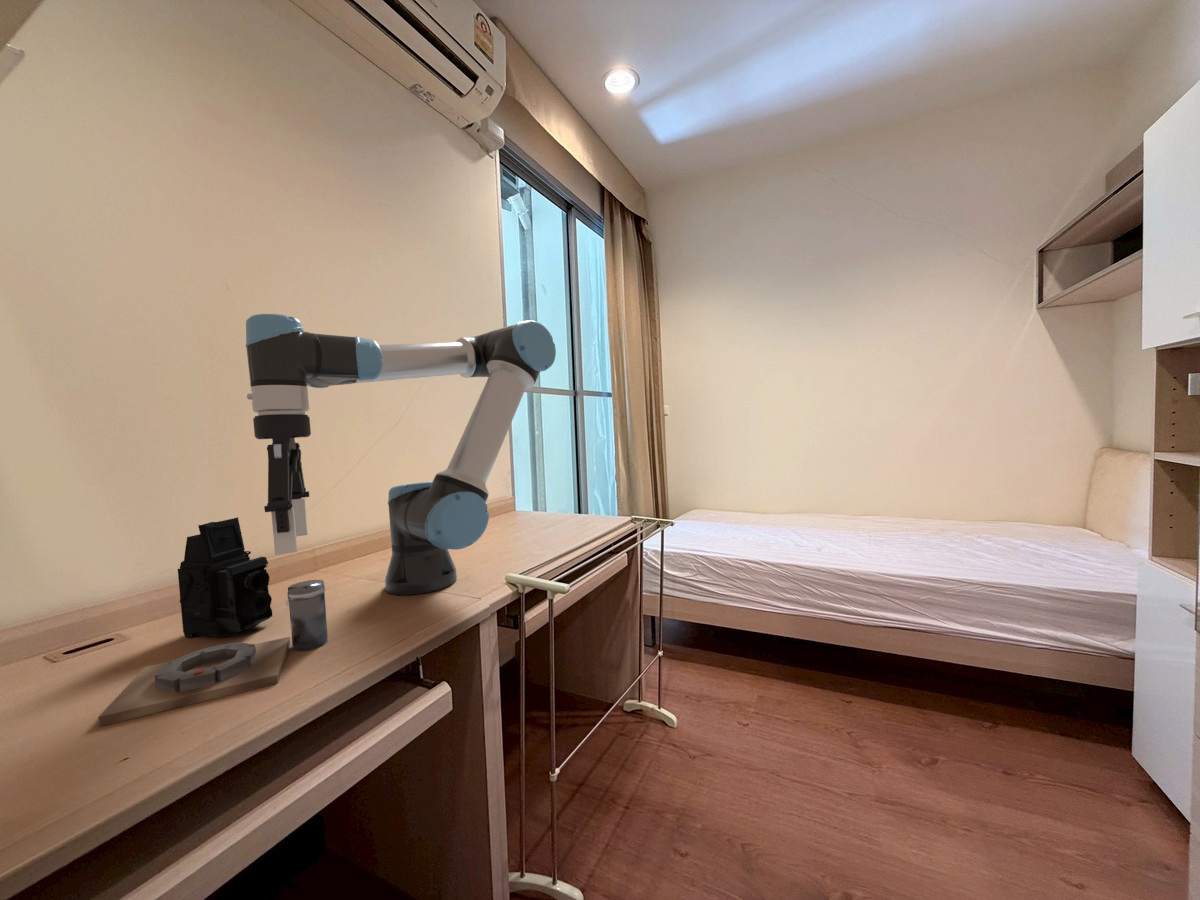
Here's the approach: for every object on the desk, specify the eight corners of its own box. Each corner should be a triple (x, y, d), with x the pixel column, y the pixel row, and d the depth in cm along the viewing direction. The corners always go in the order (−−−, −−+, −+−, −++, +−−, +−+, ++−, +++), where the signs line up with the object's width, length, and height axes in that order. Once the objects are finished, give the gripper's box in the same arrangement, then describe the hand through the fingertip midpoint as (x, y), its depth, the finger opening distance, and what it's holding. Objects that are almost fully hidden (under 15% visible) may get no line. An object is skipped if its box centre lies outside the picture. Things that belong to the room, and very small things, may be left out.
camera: (237, 644, 78) (228, 526, 77) (173, 640, 80) (163, 526, 79) (289, 620, 87) (280, 514, 86) (230, 617, 90) (222, 515, 89)
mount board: (290, 643, 77) (289, 625, 77) (277, 683, 65) (275, 661, 64) (145, 674, 69) (143, 654, 68) (99, 726, 56) (96, 701, 56)
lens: (329, 634, 80) (325, 577, 80) (327, 646, 75) (323, 586, 75) (291, 642, 78) (287, 583, 77) (287, 655, 73) (282, 593, 72)
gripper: (268, 417, 84) (278, 532, 85) (232, 410, 62) (246, 566, 63) (316, 416, 87) (325, 527, 88) (298, 409, 65) (311, 557, 66)
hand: (293, 543), depth 76 cm, fingers open, 13 cm apart
